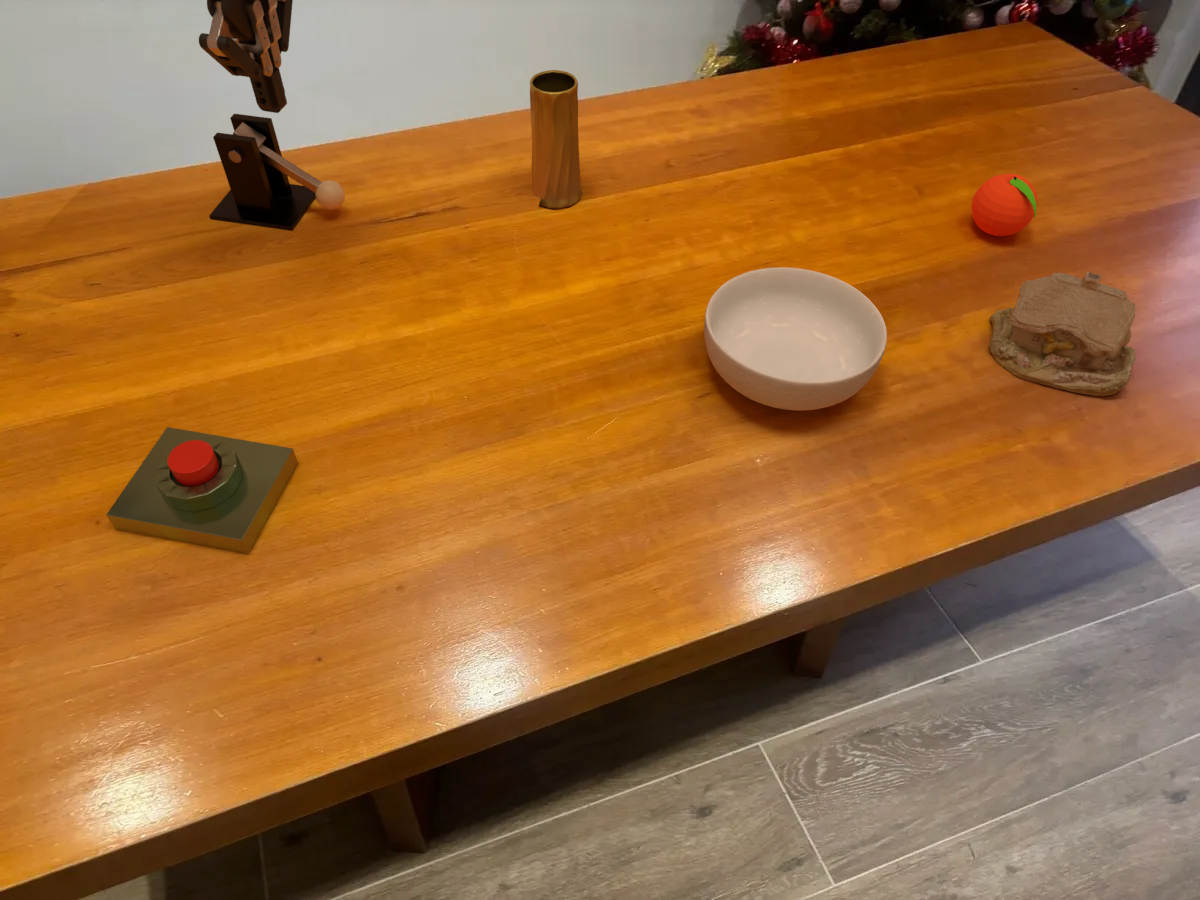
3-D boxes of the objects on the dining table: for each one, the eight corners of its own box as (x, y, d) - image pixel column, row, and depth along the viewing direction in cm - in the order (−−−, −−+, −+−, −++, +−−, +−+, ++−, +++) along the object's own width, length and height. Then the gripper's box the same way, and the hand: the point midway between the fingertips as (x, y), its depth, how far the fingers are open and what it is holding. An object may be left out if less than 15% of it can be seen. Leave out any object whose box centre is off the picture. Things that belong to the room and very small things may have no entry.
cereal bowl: (881, 341, 93) (899, 287, 87) (854, 457, 83) (873, 404, 77) (722, 302, 96) (730, 248, 91) (677, 408, 86) (684, 355, 81)
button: (166, 482, 75) (158, 469, 73) (187, 450, 77) (180, 436, 76) (206, 489, 74) (199, 476, 73) (226, 457, 76) (220, 443, 75)
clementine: (1043, 244, 104) (1068, 191, 99) (996, 260, 102) (1020, 206, 97) (996, 207, 109) (1018, 154, 103) (950, 221, 107) (970, 168, 101)
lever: (343, 204, 104) (353, 185, 102) (332, 220, 102) (342, 201, 100) (237, 137, 100) (245, 116, 98) (224, 152, 98) (232, 132, 96)
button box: (116, 530, 76) (96, 501, 73) (175, 442, 82) (159, 412, 79) (249, 555, 74) (235, 527, 71) (298, 464, 81) (288, 434, 78)
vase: (520, 193, 109) (514, 80, 98) (557, 174, 112) (555, 62, 101) (554, 215, 106) (552, 101, 95) (591, 195, 109) (593, 82, 98)
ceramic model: (970, 360, 91) (1006, 283, 84) (998, 299, 98) (1034, 221, 90) (1115, 414, 87) (1166, 337, 79) (1134, 346, 93) (1184, 268, 85)
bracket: (322, 198, 107) (301, 114, 99) (294, 238, 102) (270, 152, 94) (244, 187, 108) (216, 103, 100) (212, 226, 103) (181, 141, 95)
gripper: (218, -127, 77) (270, 70, 90) (130, -70, 68) (201, 138, 82) (299, -117, 76) (340, 80, 89) (220, -58, 67) (277, 151, 81)
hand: (273, 108), depth 85 cm, fingers closed
